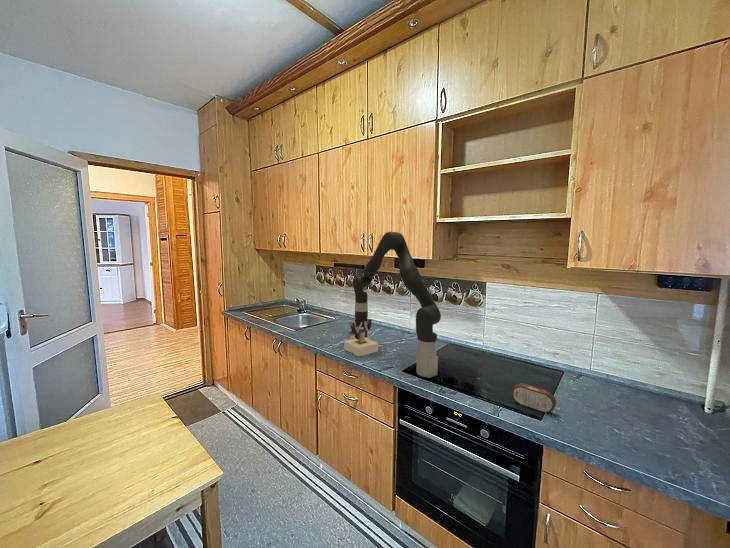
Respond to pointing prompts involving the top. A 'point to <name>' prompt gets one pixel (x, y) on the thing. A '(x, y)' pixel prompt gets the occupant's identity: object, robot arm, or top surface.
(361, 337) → the peg
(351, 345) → the socket block
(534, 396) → the brown rounded slab
